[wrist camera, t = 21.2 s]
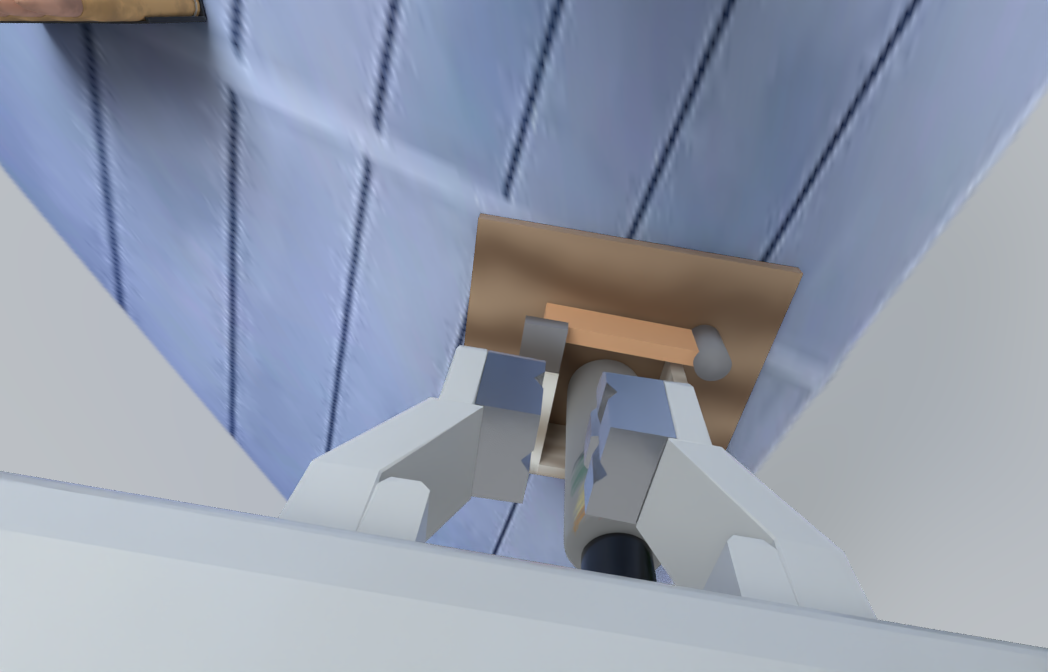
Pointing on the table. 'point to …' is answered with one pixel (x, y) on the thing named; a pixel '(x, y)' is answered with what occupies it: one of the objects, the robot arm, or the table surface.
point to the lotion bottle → (584, 535)
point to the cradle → (620, 313)
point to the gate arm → (646, 339)
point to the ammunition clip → (102, 11)
